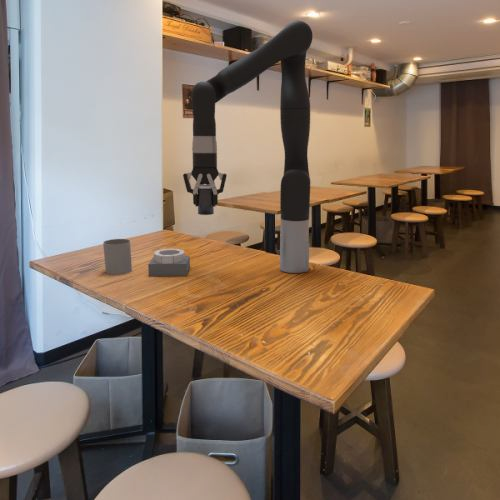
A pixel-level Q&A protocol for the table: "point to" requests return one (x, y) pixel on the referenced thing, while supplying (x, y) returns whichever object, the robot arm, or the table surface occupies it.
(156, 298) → the table surface
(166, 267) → the grey block with ring
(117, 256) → the cup
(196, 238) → the table surface
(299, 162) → the robot arm
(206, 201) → the lens
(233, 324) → the table surface
